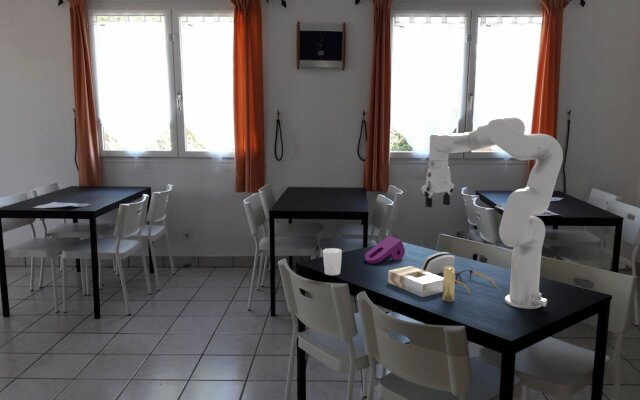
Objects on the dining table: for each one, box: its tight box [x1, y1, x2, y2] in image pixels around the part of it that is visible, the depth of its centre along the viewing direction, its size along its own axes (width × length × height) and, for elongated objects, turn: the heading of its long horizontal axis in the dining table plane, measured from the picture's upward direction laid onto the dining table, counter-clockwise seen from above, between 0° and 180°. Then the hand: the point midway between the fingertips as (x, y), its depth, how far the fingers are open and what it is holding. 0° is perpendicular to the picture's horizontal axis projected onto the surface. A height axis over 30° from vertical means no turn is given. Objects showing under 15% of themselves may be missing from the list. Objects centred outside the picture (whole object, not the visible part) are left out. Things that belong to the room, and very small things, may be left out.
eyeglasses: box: [455, 269, 498, 295], centre depth 205 cm, size 14×14×4 cm
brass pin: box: [442, 266, 456, 303], centre depth 189 cm, size 4×4×12 cm
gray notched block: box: [405, 272, 443, 298], centre depth 200 cm, size 10×12×5 cm
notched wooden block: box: [387, 265, 427, 291], centre depth 208 cm, size 10×12×5 cm
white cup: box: [322, 247, 343, 276], centre depth 222 cm, size 8×8×10 cm
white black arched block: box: [420, 251, 456, 275], centre depth 221 cm, size 17×5×10 cm, turn 124°
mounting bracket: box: [364, 235, 406, 265], centre depth 242 cm, size 9×8×18 cm
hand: (437, 205), depth 214 cm, fingers open, 9 cm apart
